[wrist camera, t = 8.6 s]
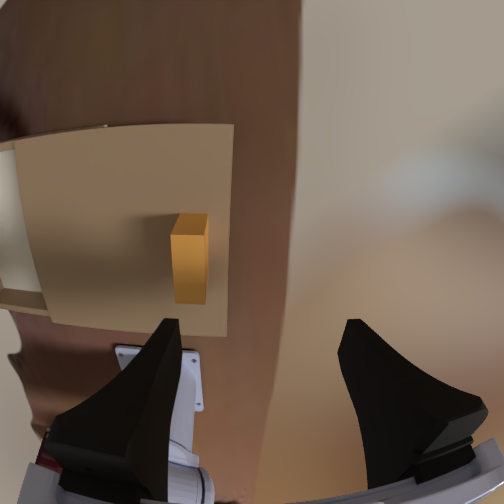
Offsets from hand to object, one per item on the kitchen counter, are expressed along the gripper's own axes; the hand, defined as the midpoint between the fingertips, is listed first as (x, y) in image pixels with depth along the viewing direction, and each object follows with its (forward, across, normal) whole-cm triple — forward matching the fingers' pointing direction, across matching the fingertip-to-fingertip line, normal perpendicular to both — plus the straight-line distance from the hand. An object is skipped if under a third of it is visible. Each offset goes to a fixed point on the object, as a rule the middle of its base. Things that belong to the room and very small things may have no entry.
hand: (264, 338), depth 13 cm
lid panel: (+7, +8, -1) cm, 11 cm away
